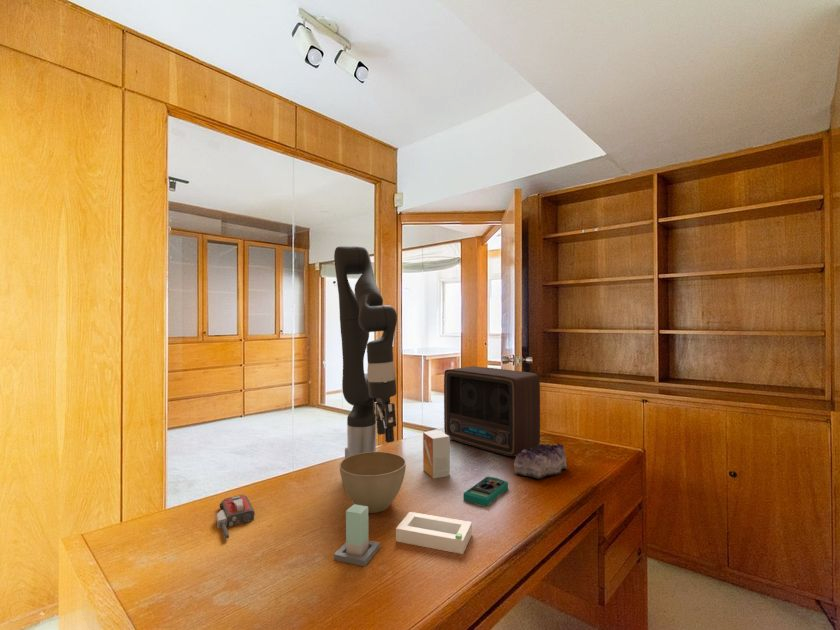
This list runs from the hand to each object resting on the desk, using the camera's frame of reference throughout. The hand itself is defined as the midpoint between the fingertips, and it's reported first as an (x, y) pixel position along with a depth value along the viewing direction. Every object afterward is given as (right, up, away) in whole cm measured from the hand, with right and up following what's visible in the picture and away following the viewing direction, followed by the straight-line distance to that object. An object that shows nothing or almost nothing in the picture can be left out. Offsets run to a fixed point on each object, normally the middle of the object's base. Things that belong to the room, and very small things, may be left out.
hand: (385, 437), depth 115 cm
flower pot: (-4, -19, +1) cm, 20 cm away
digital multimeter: (+29, -20, +9) cm, 36 cm away
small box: (+15, -19, +25) cm, 35 cm away
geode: (+50, -19, +26) cm, 60 cm away
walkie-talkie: (-38, -20, -6) cm, 44 cm away
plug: (-4, -19, -22) cm, 30 cm away
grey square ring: (-4, -19, -22) cm, 30 cm away
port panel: (+13, -19, -15) cm, 28 cm away
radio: (+37, -19, +55) cm, 69 cm away
